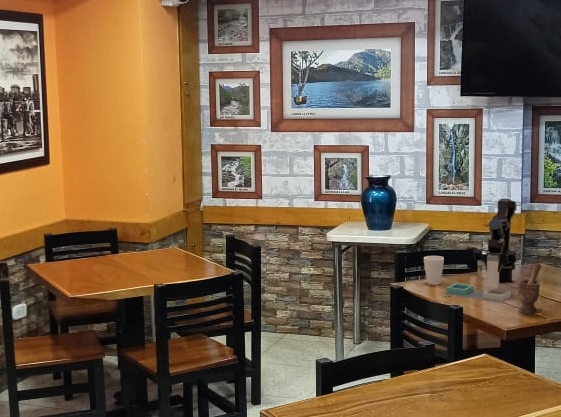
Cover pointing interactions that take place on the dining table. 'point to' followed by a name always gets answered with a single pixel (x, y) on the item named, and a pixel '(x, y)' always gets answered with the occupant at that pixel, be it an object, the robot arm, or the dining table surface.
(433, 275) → the foam cup
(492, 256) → the plug block
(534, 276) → the mortar and pestle
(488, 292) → the socket board
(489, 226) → the robot arm
